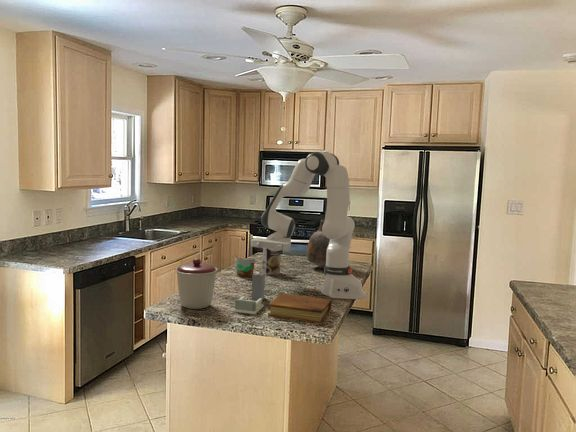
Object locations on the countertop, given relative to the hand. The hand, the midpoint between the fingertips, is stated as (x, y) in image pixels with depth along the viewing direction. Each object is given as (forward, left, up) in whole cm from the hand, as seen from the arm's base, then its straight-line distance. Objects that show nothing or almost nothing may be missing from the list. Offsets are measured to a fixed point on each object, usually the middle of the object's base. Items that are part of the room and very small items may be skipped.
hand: (267, 246), depth 229 cm
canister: (+22, +32, -23) cm, 45 cm away
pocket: (-1, +28, -23) cm, 36 cm away
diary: (-23, +25, -23) cm, 41 cm away
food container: (+22, -28, -23) cm, 42 cm away
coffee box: (+9, -40, -23) cm, 47 cm away
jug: (-17, -66, -23) cm, 72 cm away
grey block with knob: (0, +12, -23) cm, 26 cm away
